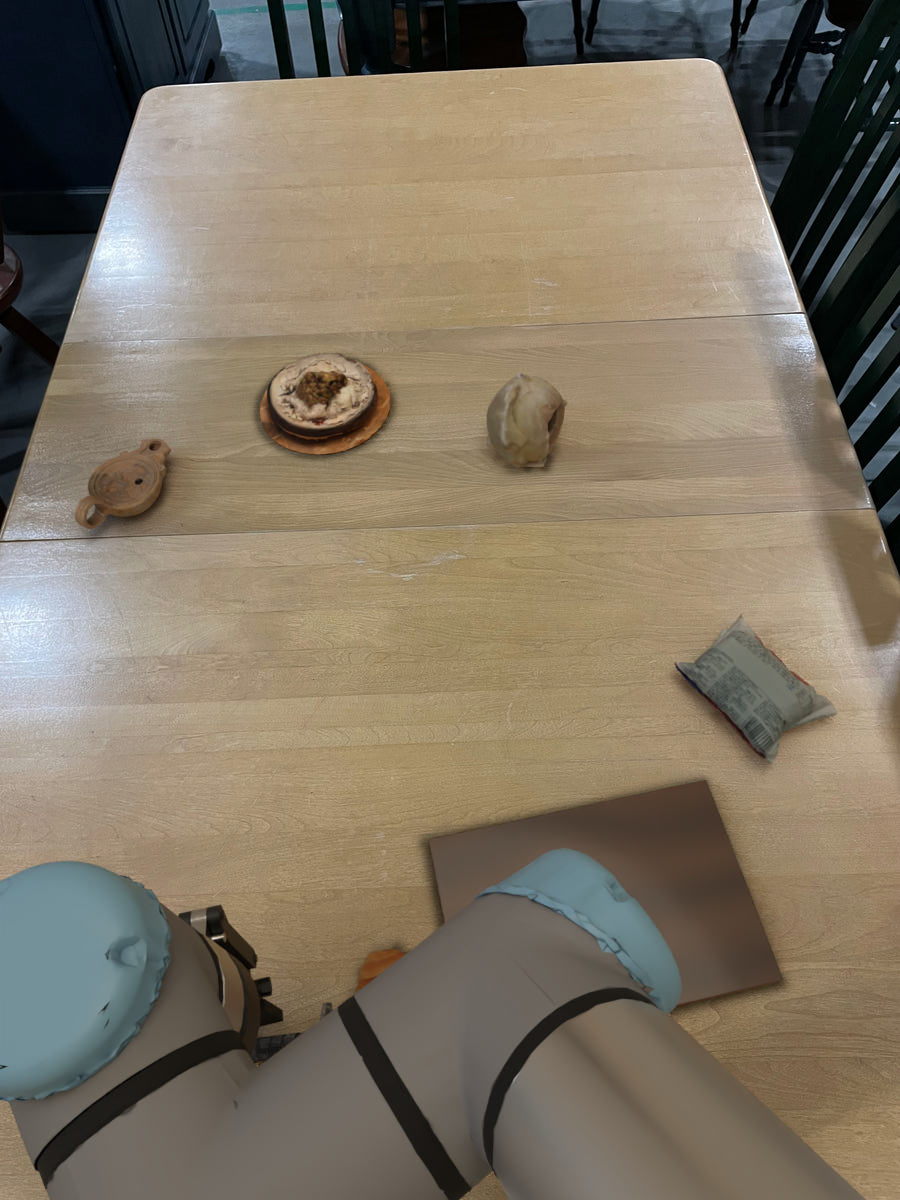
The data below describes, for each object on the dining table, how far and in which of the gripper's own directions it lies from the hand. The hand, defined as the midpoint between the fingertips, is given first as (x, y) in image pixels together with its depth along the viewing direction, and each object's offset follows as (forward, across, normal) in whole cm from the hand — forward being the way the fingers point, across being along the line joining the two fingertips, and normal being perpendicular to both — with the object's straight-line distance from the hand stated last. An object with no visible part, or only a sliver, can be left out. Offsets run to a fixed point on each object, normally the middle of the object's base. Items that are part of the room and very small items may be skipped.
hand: (267, 1053), depth 61 cm
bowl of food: (+2, -65, +12) cm, 66 cm away
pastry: (+2, 0, +9) cm, 10 cm away
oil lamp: (+2, -56, -10) cm, 57 cm away
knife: (-2, +1, +7) cm, 7 cm away
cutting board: (+2, -5, +26) cm, 27 cm away
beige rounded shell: (+2, -54, +33) cm, 63 cm away
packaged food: (+2, -20, +45) cm, 50 cm away
